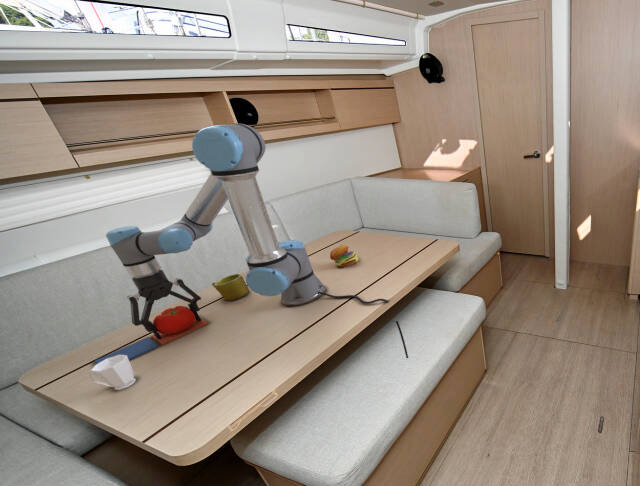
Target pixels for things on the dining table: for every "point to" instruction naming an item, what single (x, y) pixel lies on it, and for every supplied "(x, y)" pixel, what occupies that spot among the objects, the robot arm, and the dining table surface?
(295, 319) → the dining table surface
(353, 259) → the cheeseburger
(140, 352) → the blue mat
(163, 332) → the tomato
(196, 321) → the red mat
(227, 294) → the mug
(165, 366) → the dining table surface
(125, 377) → the cup
